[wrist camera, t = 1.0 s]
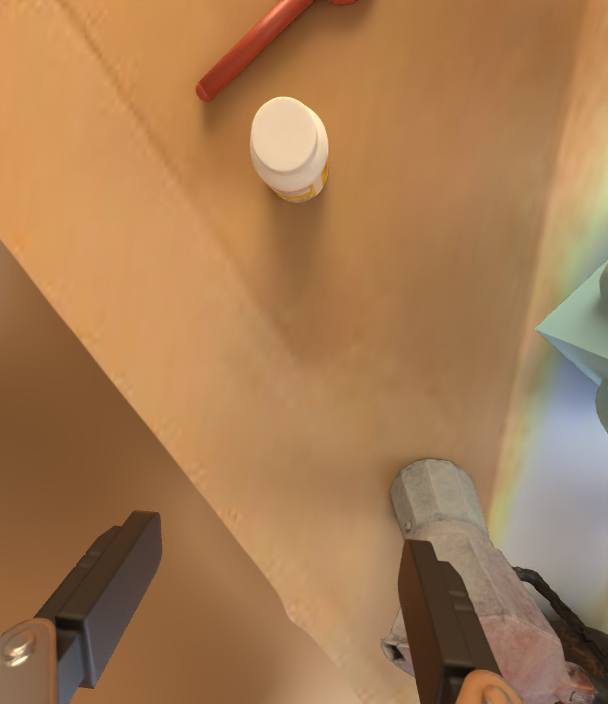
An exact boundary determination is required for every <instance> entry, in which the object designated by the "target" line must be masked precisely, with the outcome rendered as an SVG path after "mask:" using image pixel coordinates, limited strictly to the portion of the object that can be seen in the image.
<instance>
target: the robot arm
mask: <svg viewBox="0 0 608 704" xmlns="http://www.w3.org/2000/svg"><path fill="white" fill-rule="evenodd" d="M161 556H162V539H161V521H160V514H159V513H158V512H148V511H139V510H135V511H134V512H132V514H131V515H130V516H129V517H128V519H127V520H126V522H125V523H124V524H123V525H122V527H121V526H113V527H112V528H110V529H109V530H108V531H106V532H105V533H104V534H102V535H101V536H99V537H98V538H97V539H96V541H95V542H94V543H93V544H92V546H91V547H90V548H89V550H88V551H87V552H86V555H84V556H83V557H82V558H81V559H80V561H79V562H78V563H77V565H76V567H74V568H73V570H72V571H71V572H70V573H69V574H68V576H67V577H66V578H65V579H64V580H63V582H62V583H61V584H60V585H59V587H58V588H57V589H56V590H55V592H54V593H53V594H52V595H51V597H50V598H49V599H48V601H47V602H46V603H45V604H44V605H43V607H42V608H41V609H40V610H39V611H38V613H37V614H36V615H35V616H34V617H33V618H32V619H28V620H25V621H23V622H20V623H18V624H16V625H14V626H12V627H11V628H9V629H8V630H6V631H5V632H3V633H2V634H1V635H0V704H69V702H70V701H71V699H72V697H73V695H74V694H75V692H76V690H77V689H78V687H83V688H91V689H94V687H95V686H96V684H97V682H98V680H99V678H100V676H101V674H102V672H103V671H104V669H105V667H106V665H107V663H108V661H109V659H110V658H111V655H112V654H113V652H114V650H115V648H116V646H117V644H118V643H119V641H120V639H121V637H122V635H123V633H124V631H125V629H126V627H127V626H128V624H129V622H130V620H131V618H132V617H133V615H134V613H135V611H136V609H137V607H138V605H139V603H140V601H141V600H142V598H143V596H144V594H145V592H146V590H147V588H148V586H149V585H150V583H151V581H152V579H153V577H154V575H155V574H156V571H157V569H158V567H159V564H160V560H161ZM398 593H399V600H400V605H401V610H402V615H403V620H404V625H405V630H406V635H407V640H408V644H409V649H410V654H411V659H412V664H413V669H414V674H415V679H416V684H417V688H418V693H419V698H420V703H421V704H526V702H525V700H524V699H523V697H522V696H521V694H520V693H519V692H518V691H517V690H516V688H515V687H514V686H513V685H511V684H510V683H509V682H508V681H507V680H506V679H504V677H503V676H502V674H501V672H500V669H499V667H498V664H497V662H496V660H495V657H494V655H493V652H492V650H491V647H490V645H489V643H488V640H487V638H486V635H485V633H484V630H483V628H482V625H481V623H480V621H479V618H478V616H477V613H475V608H474V606H473V603H472V601H471V599H470V598H469V594H468V591H467V589H466V586H465V584H464V582H463V579H462V577H461V576H460V574H459V573H458V572H457V571H456V570H455V568H454V567H453V566H452V565H451V564H450V562H448V561H438V559H437V556H436V553H435V551H434V548H433V545H432V543H431V542H430V541H425V540H415V539H405V542H404V547H403V553H402V558H401V564H400V570H399V576H398Z"/></svg>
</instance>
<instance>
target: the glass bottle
mask: <svg viewBox="0 0 608 704" xmlns="http://www.w3.org/2000/svg"><path fill="white" fill-rule="evenodd" d="M549 624H550V626H551V627H552V629H553V630H554V632H555V633H556V635H557V636H558V638H559V639H560V642H561V645H562V648H563V653H564V659H565V661H567V662H571V663H574V664H577V665H579V666H581V667H582V668H584V669H585V670H587V671H588V672H590V673H593V674H595V675H597V676H599V675H601V674H602V673H603V666H602V665H601V663H600V662H599V661H598V659H597V658H596V657H595V655H594V654H593V653H592V652H590V651H589V650H588V649H587V648H586V647H585V646H584V645H583V644H582V642H581V641H580V639H579V637H578V636H577V635H575V634H574V633H573V632H572V630H571V629H570V627H569V626H568V624H567V623H566V622H551V623H549ZM586 627H587V626H586ZM588 628H589V629H590V630H591V631H592V632H593V633H594V634H595V635H596V636H597V638H598V639H600V640H601V643H602V644H603V645H604V646H606V647H607V648H608V634H606V633H604V632H601V631H599V630H596V629H593V628H590V627H588ZM554 704H564V703H562V702H561V701H557V702H555V703H554Z"/></svg>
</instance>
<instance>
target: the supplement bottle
mask: <svg viewBox="0 0 608 704" xmlns="http://www.w3.org/2000/svg"><path fill="white" fill-rule="evenodd" d="M250 155H251V160H252V163H253V166H254V168H255V170H256V172H257V173H258V175H259V176H260V178H261V179H262V180H263V181H264V182H265V183H266V184H267V185H268V186H269V187H270V188H271V189H272V190H273V191H274V192H275V193H276V194H277V195H278V196H280V197H281V198H283V199H284V200H287V201H290V202H305V201H308V200H310V199H312V198H313V197H315V196H316V195H317V194H318V193H319V192H320V191H321V190H322V188H323V187H324V185H325V183H326V180H327V177H328V171H329V152H328V138H327V133H326V130H325V128H324V125H323V123H322V122H321V120H320V119H319V117H318V116H317V115H316V114H315V113H314V112H313V111H312V110H311V109H309V108H308V107H306V106H305V105H303V104H302V103H301V102H300V101H298V100H295V99H293V98H289V97H278V98H274V99H272V100H270V101H268V102H266V103H265V104H264V105H263V106H262V107H261V108H260V109H259V110H258V112H257V113H256V115H255V117H254V120H253V123H252V127H251V138H250Z"/></svg>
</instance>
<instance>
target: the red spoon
mask: <svg viewBox="0 0 608 704" xmlns="http://www.w3.org/2000/svg"><path fill="white" fill-rule="evenodd" d="M313 1H314V0H281V1H280V2H279V3H278V4H277V5H276V6H275V7H274V8H273V9H272V10H271V11H270V12H269V13H268V14H267V15H266V16H265V17H264V18H263V19H262V20H261V21H260V22H259V23H258V24H257V25H256V26H255V27H254V28H253V29H252V30H251V31H250V32H249V33H248V34H247V35H246V36H245V37H243V38H242V39H241V40H240V41H239V42H238V43H237V44H236V45H235V46H234V47H233V48H232V49H231V50H230V51H229V52H228V53H227V54H226V55H225V56H224V57H223V58H222V59H221V60H220V61H219V62H218V63H217V64H216V65H215V66H214V67H213V68H212V69H211V70H210V71H209V72H208V73H207V74H206V75H205V76H204V77H203V78H202V79H201V80H200V81H199V82H198V83H197V86H196V93H197V95H198V97H199V98H200V99H201V100H203V101H210V100H211V99H212V98H213V97H214V96H215V95H216V94H217V93H218V92H219V91H221V90H222V89H223V88H224V87H225V86H226V85H227V84H228V83H229V82H230V81H231V80H232V79H233V78H234V77H235V76H236V75H237V74H238V73H239V72H240V71H241V70H242V69H243V68H244V67H245V66H246V65H248V64H249V63H250V62H251V61H252V60H253V59H254V58H255V57H256V56H257V55H258V54H259V53H260V52H261V51H262V50H263V49H264V48H265V47H266V46H267V45H268V44H269V43H270V42H271V41H272V40H274V39H275V38H276V37H277V36H278V35H279V34H280V33H281V32H282V31H283V30H284V29H285V28H286V27H287V26H288V25H289V24H290V23H291V22H292V21H293V20H294V19H295V18H296V17H297V16H298V15H299V14H301V13H302V12H303V11H304V10H305V9H306V8H307V7H308V6H309V5H310V4H311V3H312V2H313ZM327 1H329V2H331V3H334V4H338V5H346V4H351V3H353V2H356V1H357V0H327Z"/></svg>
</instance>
